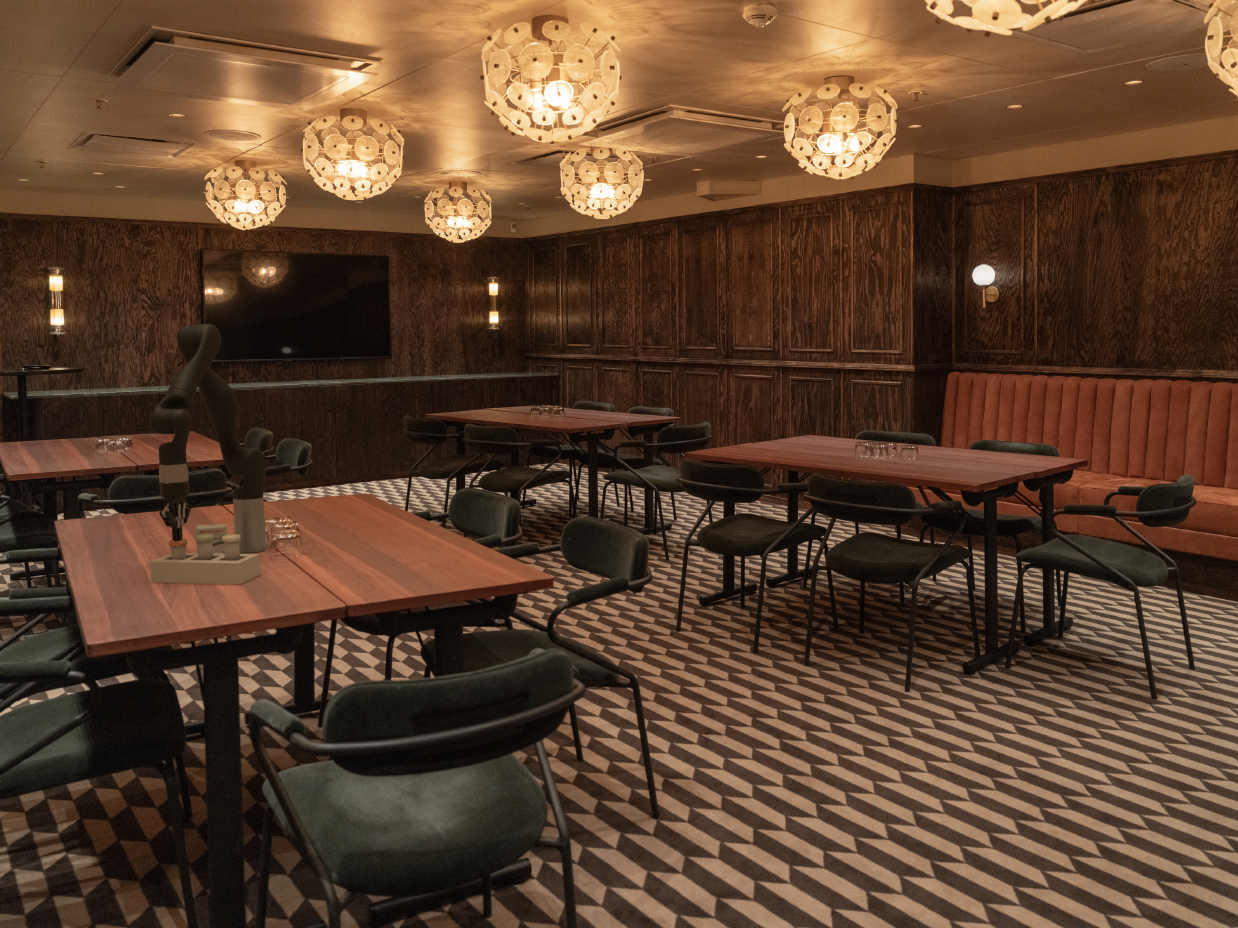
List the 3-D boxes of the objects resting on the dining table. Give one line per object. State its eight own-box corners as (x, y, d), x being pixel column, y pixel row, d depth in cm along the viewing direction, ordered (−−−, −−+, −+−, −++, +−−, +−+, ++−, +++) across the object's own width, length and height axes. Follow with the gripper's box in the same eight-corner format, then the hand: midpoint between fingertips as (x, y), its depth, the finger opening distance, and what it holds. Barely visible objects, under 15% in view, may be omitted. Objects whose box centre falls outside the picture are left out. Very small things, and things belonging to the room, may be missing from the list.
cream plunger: (228, 562, 280) (227, 534, 279) (244, 562, 279) (243, 534, 278) (220, 566, 275) (218, 537, 274) (236, 566, 275) (235, 537, 274)
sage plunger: (202, 561, 281) (200, 533, 280) (218, 562, 280) (216, 534, 279) (193, 565, 276) (191, 537, 275) (209, 566, 275) (207, 537, 274)
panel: (175, 572, 286) (174, 552, 285) (260, 574, 283) (259, 554, 282) (151, 582, 274) (150, 561, 273) (239, 584, 271) (238, 563, 270)
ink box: (197, 567, 293) (195, 528, 292) (197, 563, 298) (195, 525, 296) (228, 564, 297) (226, 525, 295) (227, 561, 301) (225, 523, 300)
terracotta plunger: (176, 566, 282) (174, 538, 281) (192, 566, 281) (190, 538, 280) (166, 570, 277) (165, 541, 276) (182, 570, 277) (181, 542, 276)
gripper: (174, 476, 283) (178, 535, 285) (147, 482, 270) (151, 544, 272) (199, 476, 282) (202, 536, 284) (173, 483, 269) (177, 545, 271)
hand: (177, 540), depth 278 cm, fingers closed
